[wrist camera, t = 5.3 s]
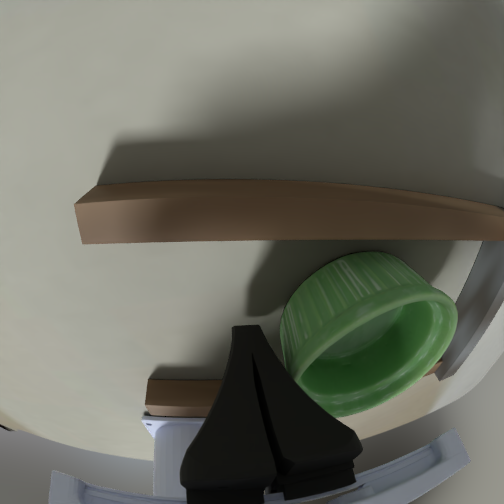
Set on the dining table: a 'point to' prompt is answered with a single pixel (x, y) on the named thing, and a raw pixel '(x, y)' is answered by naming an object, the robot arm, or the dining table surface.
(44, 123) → the dining table surface
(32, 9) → the dining table surface
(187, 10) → the dining table surface
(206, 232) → the guide track
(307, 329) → the ramekin
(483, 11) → the dining table surface
